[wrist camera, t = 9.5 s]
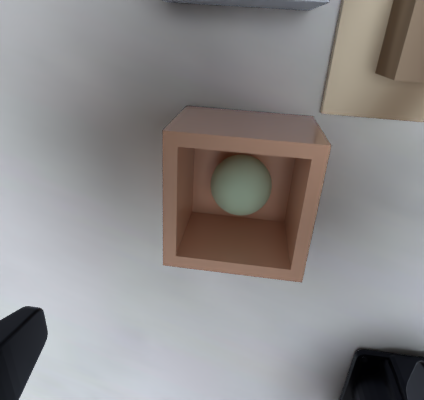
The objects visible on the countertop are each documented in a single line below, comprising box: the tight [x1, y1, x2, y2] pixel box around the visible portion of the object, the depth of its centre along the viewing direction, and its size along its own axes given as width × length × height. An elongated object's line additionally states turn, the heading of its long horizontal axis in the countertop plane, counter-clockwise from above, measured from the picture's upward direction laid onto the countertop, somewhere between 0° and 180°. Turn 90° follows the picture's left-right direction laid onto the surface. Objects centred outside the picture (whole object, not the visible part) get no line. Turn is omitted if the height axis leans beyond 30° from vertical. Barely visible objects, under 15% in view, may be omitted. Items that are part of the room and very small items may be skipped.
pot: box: [163, 106, 331, 282], centre depth 17 cm, size 6×6×5 cm
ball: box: [211, 154, 272, 215], centre depth 17 cm, size 3×3×3 cm
